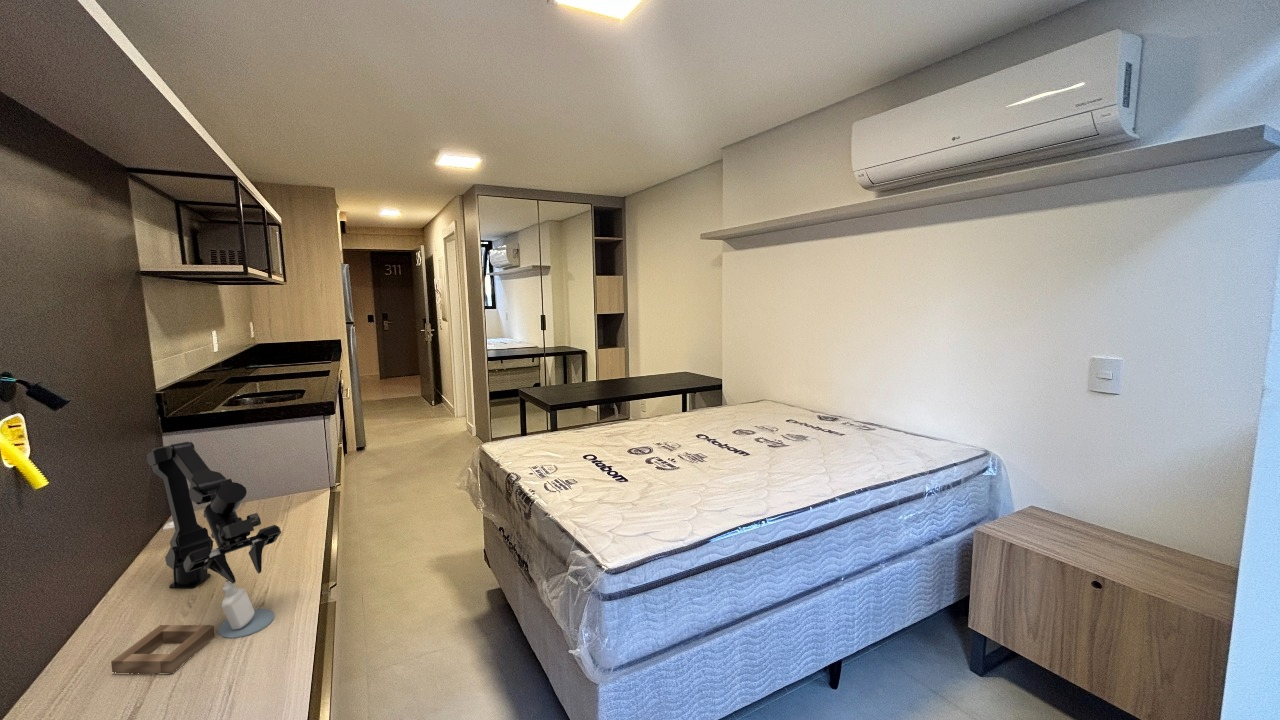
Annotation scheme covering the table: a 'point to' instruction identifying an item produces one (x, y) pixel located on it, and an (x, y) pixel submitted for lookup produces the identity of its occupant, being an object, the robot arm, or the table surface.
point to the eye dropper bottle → (236, 606)
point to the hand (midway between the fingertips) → (247, 577)
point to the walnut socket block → (146, 663)
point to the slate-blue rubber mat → (248, 625)
